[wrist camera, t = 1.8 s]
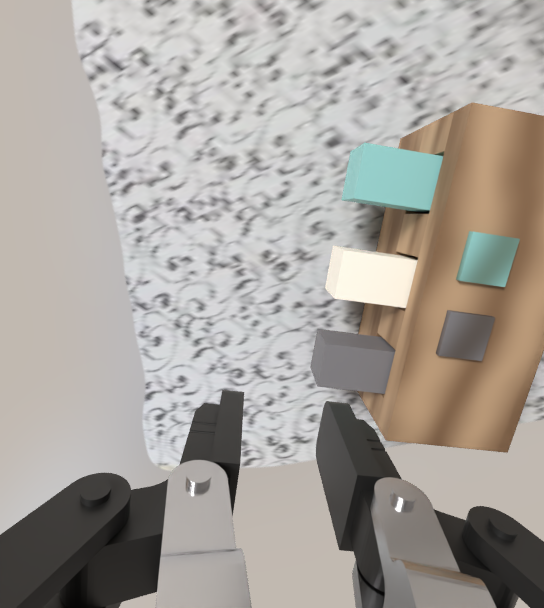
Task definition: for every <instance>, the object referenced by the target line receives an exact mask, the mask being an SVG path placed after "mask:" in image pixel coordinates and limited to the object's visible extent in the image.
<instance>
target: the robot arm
mask: <svg viewBox="0 0 544 608" xmlns="http://www.w3.org/2000/svg"><path fill="white" fill-rule="evenodd" d="M243 402H244V392H238V391H229V390H222V396H221V401H220V405H217V404H208V403H204V404H203V405H202V406H201V407H200V408H198V409H197V410H196V411H195V414H194V418H193V421H192V424H191V428H190V432H189V434H188V438H187V441H186V445H185V448H184V451H183V455H182V458H181V462H180V465H179V466H177V467H176V468H175V469H174V470H173V471H172V472H171V473H170V475H169V478H168V479H167V480H166V481H164V482H162V483H160V484H157V485H155V486H151V487H146V488H140V489H134V490H131V488H130V485H129V483H128V482H127V480H125V479H124V478H123V477H121V476H119V475H116V474H112V473H97V474H92V475H88V476H86V477H83V478H80V479H78V480H77V481H75V482H73V483H72V484H70V485H69V486H68V487H66V488H65V489H64V490H62V491H61V492H59V493H58V494H56V495H55V496H54V497H53V498H51V499H50V500H48V501H47V502H45V503H44V504H43V505H41V506H40V507H38V508H37V509H36V510H34V511H33V512H31V513H30V514H29V515H27V516H26V517H25V518H23V519H22V520H20V521H19V522H18V523H16V524H15V525H13V526H12V527H11V528H9V529H8V530H6V531H5V532H4V533H2V534H1V535H0V608H119V606H120V604H121V602H123V601H126V600H130V599H133V598H137V597H140V596H143V595H147V594H151V593H154V592H157V598H156V608H252V607H251V600H250V592H249V585H248V578H247V571H246V565H245V558H244V553H243V551H242V549H241V548H237V549H236V544H235V535H234V527H233V519H232V516H233V509H234V502H235V495H236V488H237V482H238V475H239V468H240V456H241V438H242V420H243ZM316 459H317V464H318V468H319V472H320V476H321V479H322V484H323V488H324V492H325V495H326V499H327V503H328V507H329V511H330V515H331V518H332V523H333V527H334V531H335V535H336V539H337V543H338V547H339V550H344V551H354V554H355V558H356V561H355V565H354V568H353V573H352V578H353V587H354V595H355V605H356V608H514V607H515V605H516V602H517V600H518V597H520V598H521V599H522V600H523V601H524V602H525V603H526V604H527V605H528V606H529V607H530V608H544V542H543V541H542V540H541V539H539V538H538V537H537V536H535V535H534V534H533V533H532V532H530V531H529V530H528V529H526V528H525V527H524V526H522V525H521V524H520V523H518V522H517V521H516V520H514V519H513V518H511V517H510V516H508V515H506V514H504V513H502V512H500V511H498V510H496V509H493V508H489V507H484V506H477V507H473V508H472V509H470V511H469V513H468V516H467V519H466V520H463V519H460V518H457V517H454V516H451V515H448V514H445V513H442V512H439V511H437V510H434V509H433V507H432V504H431V502H430V500H429V499H428V497H427V496H426V495H425V494H424V493H423V492H422V491H421V490H420V489H419V488H417V487H416V486H414V485H413V484H411V483H409V482H407V481H404V480H402V479H401V477H400V475H399V474H398V472H397V470H396V468H395V466H394V464H393V463H392V461H391V459H390V457H389V455H388V454H387V452H385V448H384V446H383V445H382V443H381V442H380V439H379V437H378V436H377V434H376V432H375V430H374V429H373V428H372V427H371V426H369V425H368V424H367V423H366V422H365V421H364V420H359V419H356V417H355V415H354V413H353V411H352V409H351V407H350V405H349V404H348V403H339V402H329V401H326V403H325V405H324V408H323V413H322V418H321V423H320V428H319V433H318V438H317V444H316Z"/></svg>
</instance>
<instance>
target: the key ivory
mask: <svg viewBox="0 0 544 608" xmlns="http://www.w3.org/2000/svg"><path fill="white" fill-rule="evenodd" d="M417 261H418V258H414V257H408V256H401V255H394V254H387V253H380V252H373V251H366V250H360V249H353V248H346V247H339V246H333V249H332V254H331V260H330V265H329V270H328V276H327V281H326V286H325V289H326V290H327V291H328V292H329V293H330V294H331V295H332V296H333V297H334V298H335V299H342V300H349V301H357V302H364V303H372V304H379V305H387V306H394V307H402V308H406V306H407V302H408V298H409V294H410V290H411V285H412V281H413V277H414V273H415V269H416V265H417Z"/></svg>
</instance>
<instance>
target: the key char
mask: <svg viewBox="0 0 544 608" xmlns="http://www.w3.org/2000/svg"><path fill="white" fill-rule="evenodd" d="M395 351H396V350H395V349H394V348H393V347H392V346H391V345H390V344H389V343H388V342H387V341H386V340H385V339H384V338H382V337H378V336H370V335H362V334H354V333H346V332H338V331H330V330H322V329H317V335H316V340H315V345H314V351H313V356H312V362H311V370H312V373H313V376H314V378H315V381H316V384H317V386H318V387H327V388H336V389H345V390H354V391H363V392H372V393H381V394H385V391H386V387H387V383H388V379H389V375H390V371H391V367H392V363H393V359H394V355H395Z"/></svg>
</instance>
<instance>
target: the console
mask: <svg viewBox="0 0 544 608" xmlns="http://www.w3.org/2000/svg"><path fill="white" fill-rule="evenodd" d="M398 149H404V150H410V151H416V152H421V153H427V154H433V155H439V156H443V160H442V164H441V168H440V172H439V176H438V180H437V184H436V188H435V192H434V196H433V200H432V204H431V208H430V212H429V214H427V213H420V212H414V211H408V210H401V209H395V208H388V207H386V208H385V213H384V217H383V222H382V226H381V231H380V236H379V240H378V245H377V250H376V252H380V253H387V254H394V255H401V256H408V257H414V258H418V261H417V265H416V269H415V273H414V277H413V281H412V285H411V290H410V294H409V298H408V302H407V306H406V308H402V307H394V306H387V305H379V304H372V303H365V305H364V310H363V314H362V319H361V324H360V328H359V333H358V334H362V335H370V336H378V337H382V338H384V339H385V340H386V341H387V342H388V343H389V344H390V345H391V346H392V347H393V348H394V349H395V350H396V351H395V355H394V359H393V363H392V367H391V371H390V375H389V379H388V383H387V387H386V391H385V394H381V393H372V392H363V391H358V393H359V395H360V397H361V398H362V400H363V402H364V403H365V405H366V407H367V409H368V410H369V412H370V414H371V416H372V417H373V419H374V421H375V422H376V424H377V426H378V428H379V429H380V431H381V433H382V435H383V436H384V438H385V440H388V441H397V442H407V443H418V444H428V445H437V446H447V447H458V448H468V449H477V450H488V451H498V452H508V450H509V446H510V444H511V441H512V438H513V436H514V432H515V430H516V427H517V424H518V421H519V419H520V416H521V413H522V410H523V407H524V404H525V402H526V399H527V396H528V393H529V390H530V387H531V385H532V382H533V379H534V376H535V373H536V371H537V368H538V365H539V362H540V359H541V356H542V354H543V351H544V116H541V115H536V114H531V113H525V112H520V111H515V110H509V109H504V108H499V107H493V106H488V105H483V104H477V103H470V104H468V105H466V106H464V107H463V108H461V109H459V110H457V111H455V112H453V113H451V114H449V115H447V116H445V117H443V118H441V119H439V120H437V121H435V122H433V123H431V124H429V125H427V126H425V127H423V128H421V129H419V130H417V131H415V132H413V133H411V134H409V135H407V136H405V137H403V138H401V139H400V143H399V148H398Z"/></svg>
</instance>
